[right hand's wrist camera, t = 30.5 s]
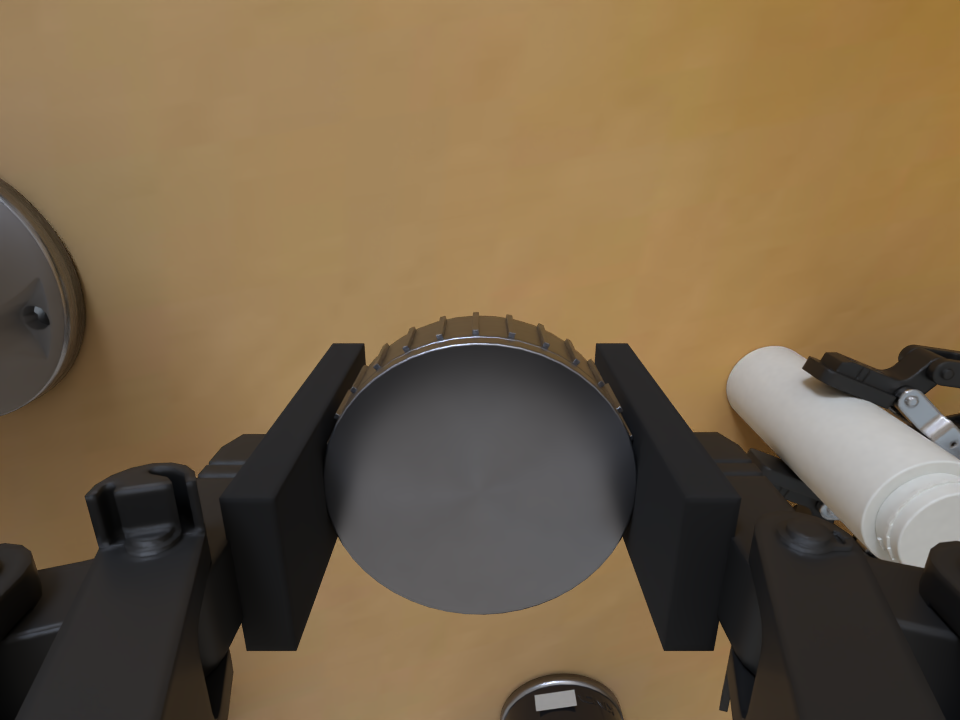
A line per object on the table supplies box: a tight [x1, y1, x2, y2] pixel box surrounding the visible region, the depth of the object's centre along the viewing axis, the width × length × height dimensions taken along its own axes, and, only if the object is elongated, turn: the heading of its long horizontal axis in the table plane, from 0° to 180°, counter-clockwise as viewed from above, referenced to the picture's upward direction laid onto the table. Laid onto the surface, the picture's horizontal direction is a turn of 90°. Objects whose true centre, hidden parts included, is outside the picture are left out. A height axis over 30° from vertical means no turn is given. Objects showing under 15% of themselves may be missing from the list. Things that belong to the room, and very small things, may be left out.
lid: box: [323, 312, 637, 615], centre depth 11 cm, size 6×6×2 cm
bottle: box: [727, 346, 960, 568], centre depth 29 cm, size 5×5×15 cm
